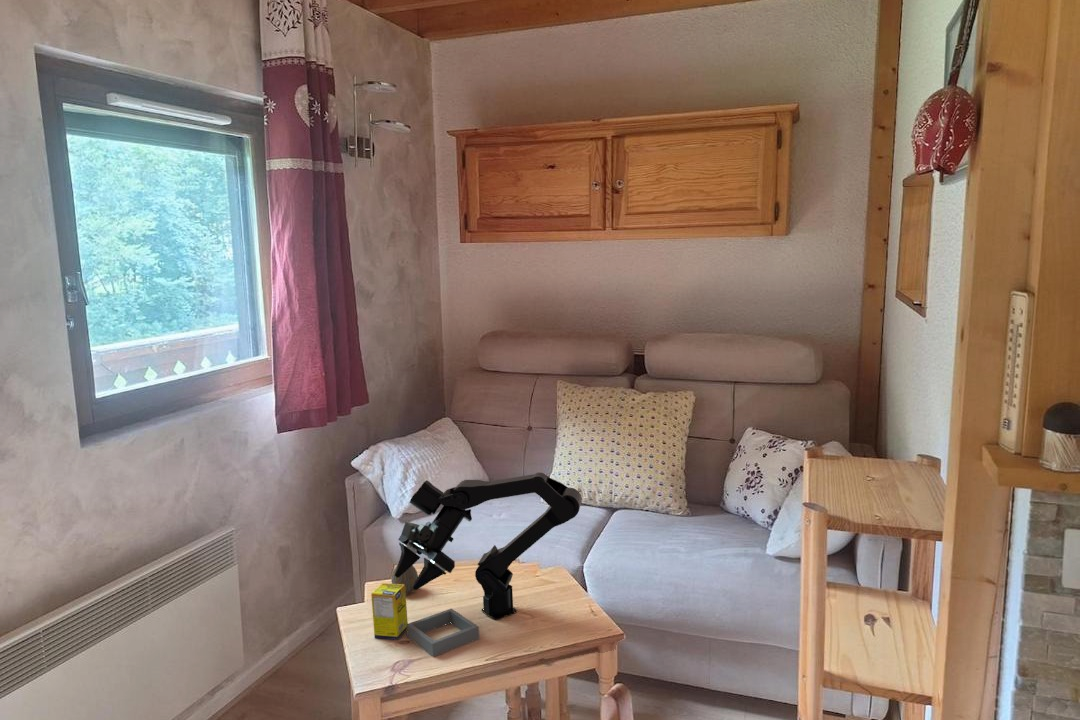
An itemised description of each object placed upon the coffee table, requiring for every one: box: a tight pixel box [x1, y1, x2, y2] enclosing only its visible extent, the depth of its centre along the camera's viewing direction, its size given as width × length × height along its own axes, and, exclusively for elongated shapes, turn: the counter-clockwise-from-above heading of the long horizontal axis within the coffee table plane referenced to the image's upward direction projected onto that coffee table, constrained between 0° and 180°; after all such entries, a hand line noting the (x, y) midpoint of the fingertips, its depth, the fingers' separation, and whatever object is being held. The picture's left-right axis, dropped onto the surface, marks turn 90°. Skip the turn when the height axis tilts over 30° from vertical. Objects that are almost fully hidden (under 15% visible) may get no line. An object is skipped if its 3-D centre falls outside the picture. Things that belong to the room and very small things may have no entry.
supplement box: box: [371, 582, 409, 641], centre depth 173 cm, size 6×6×11 cm
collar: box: [406, 608, 480, 658], centre depth 170 cm, size 12×12×3 cm
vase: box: [390, 561, 419, 596], centre depth 195 cm, size 7×7×9 cm
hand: (404, 582), depth 175 cm, fingers open, 9 cm apart
